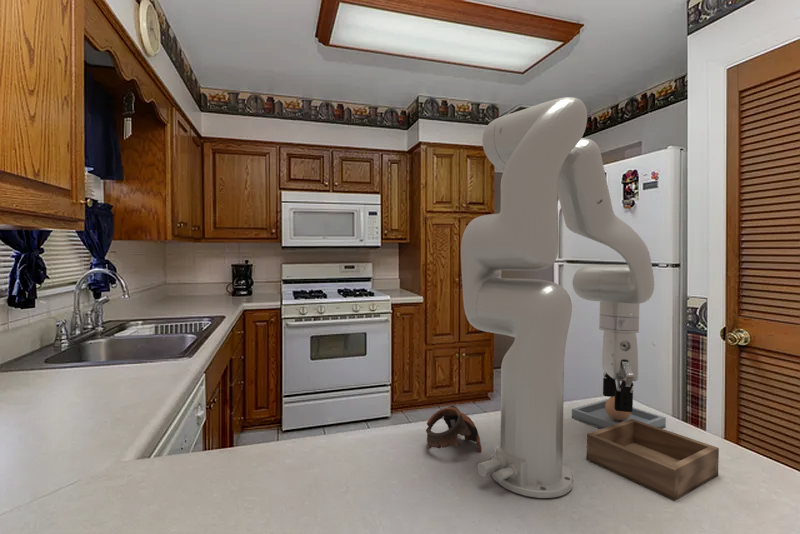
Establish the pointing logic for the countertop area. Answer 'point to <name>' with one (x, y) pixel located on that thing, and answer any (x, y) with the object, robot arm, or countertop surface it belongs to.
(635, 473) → the bin
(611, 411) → the ball
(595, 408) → the tray
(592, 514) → the countertop surface
